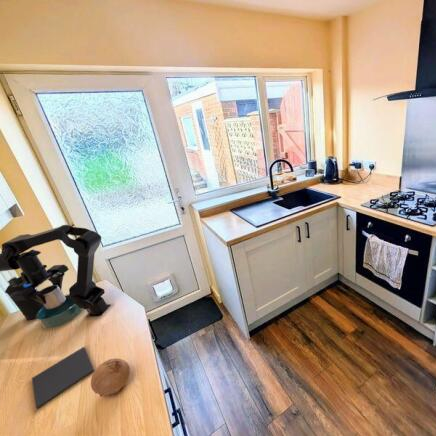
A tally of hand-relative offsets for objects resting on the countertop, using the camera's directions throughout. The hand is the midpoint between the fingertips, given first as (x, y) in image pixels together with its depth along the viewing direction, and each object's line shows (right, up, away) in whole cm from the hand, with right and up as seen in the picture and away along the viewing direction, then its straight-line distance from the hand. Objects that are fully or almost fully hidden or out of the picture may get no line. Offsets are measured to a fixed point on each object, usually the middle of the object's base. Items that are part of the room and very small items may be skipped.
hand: (52, 297), depth 102 cm
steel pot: (0, -3, +1) cm, 3 cm away
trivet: (+24, -19, -21) cm, 37 cm away
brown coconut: (+45, -19, -26) cm, 56 cm away
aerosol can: (-13, -10, +7) cm, 18 cm away
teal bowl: (+1, -9, +4) cm, 10 cm away
